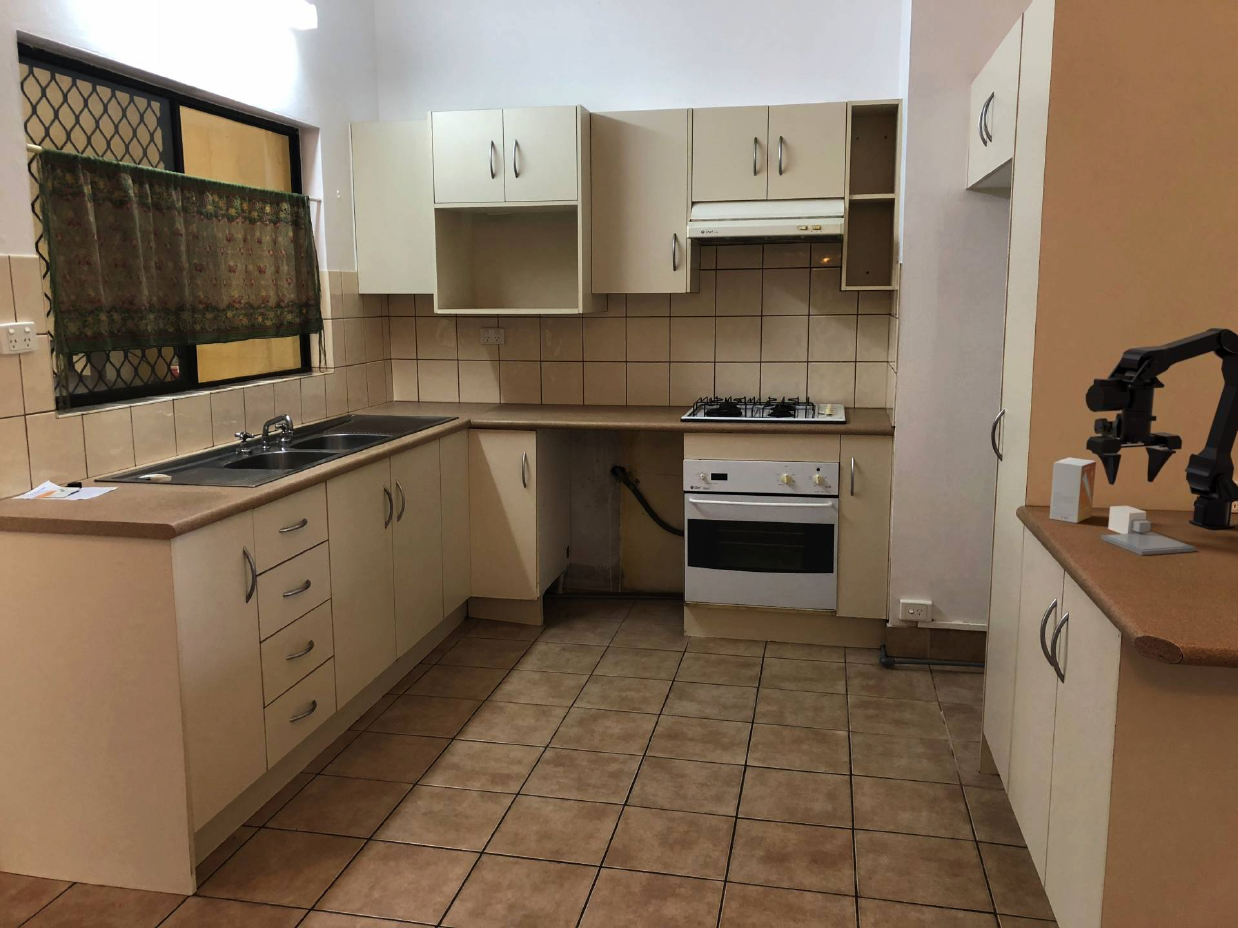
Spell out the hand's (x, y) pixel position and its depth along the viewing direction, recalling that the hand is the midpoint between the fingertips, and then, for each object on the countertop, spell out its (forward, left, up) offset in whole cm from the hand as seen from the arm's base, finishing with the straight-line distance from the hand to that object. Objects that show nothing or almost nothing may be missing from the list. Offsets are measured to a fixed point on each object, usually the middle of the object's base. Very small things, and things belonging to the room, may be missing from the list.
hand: (1130, 483), depth 209 cm
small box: (+4, -13, -11) cm, 17 cm away
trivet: (+3, +10, -11) cm, 15 cm away
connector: (0, +1, -11) cm, 11 cm away
